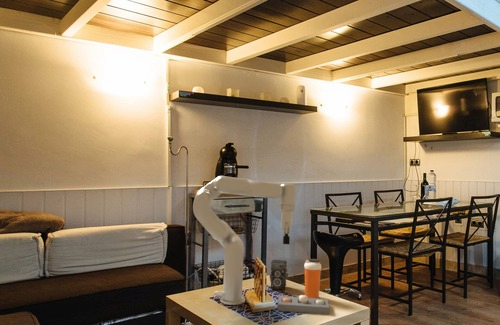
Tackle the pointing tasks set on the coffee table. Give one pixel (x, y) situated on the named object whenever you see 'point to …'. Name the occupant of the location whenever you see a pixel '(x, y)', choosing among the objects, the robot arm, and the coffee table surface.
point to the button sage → (320, 302)
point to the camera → (278, 274)
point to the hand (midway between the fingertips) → (286, 243)
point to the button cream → (303, 299)
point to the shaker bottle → (312, 278)
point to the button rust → (286, 300)
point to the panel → (303, 305)
